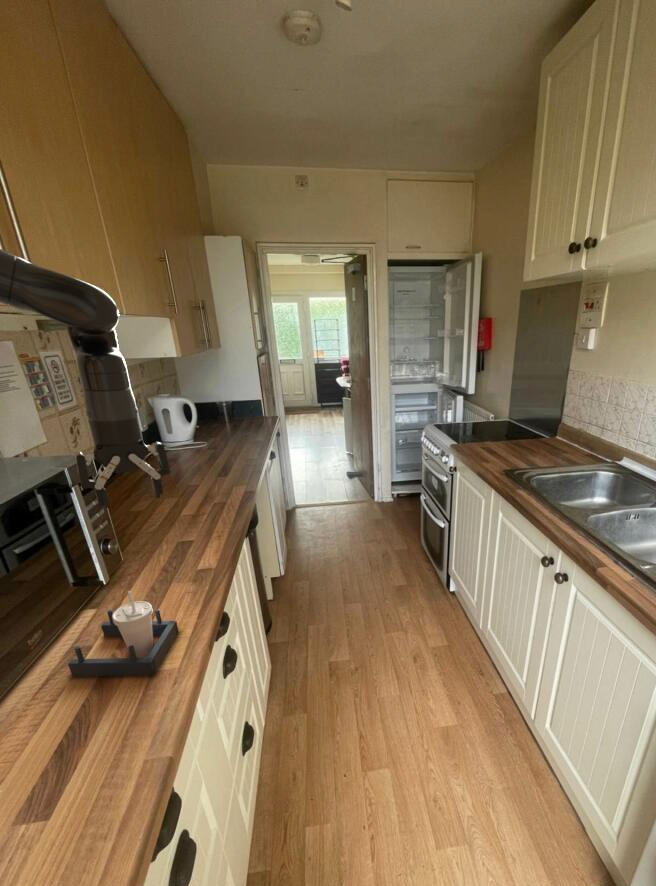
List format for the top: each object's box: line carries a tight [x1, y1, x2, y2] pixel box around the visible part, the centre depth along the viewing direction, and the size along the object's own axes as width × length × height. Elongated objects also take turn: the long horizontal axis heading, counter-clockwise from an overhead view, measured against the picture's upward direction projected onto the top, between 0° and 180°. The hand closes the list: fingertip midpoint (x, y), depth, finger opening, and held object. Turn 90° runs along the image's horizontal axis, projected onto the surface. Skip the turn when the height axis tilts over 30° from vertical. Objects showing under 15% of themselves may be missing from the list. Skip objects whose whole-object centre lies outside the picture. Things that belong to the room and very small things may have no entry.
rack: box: [67, 608, 180, 678], centre depth 80 cm, size 14×12×6 cm
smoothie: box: [112, 590, 154, 658], centre depth 78 cm, size 6×6×14 cm
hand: (132, 501), depth 80 cm, fingers open, 8 cm apart
